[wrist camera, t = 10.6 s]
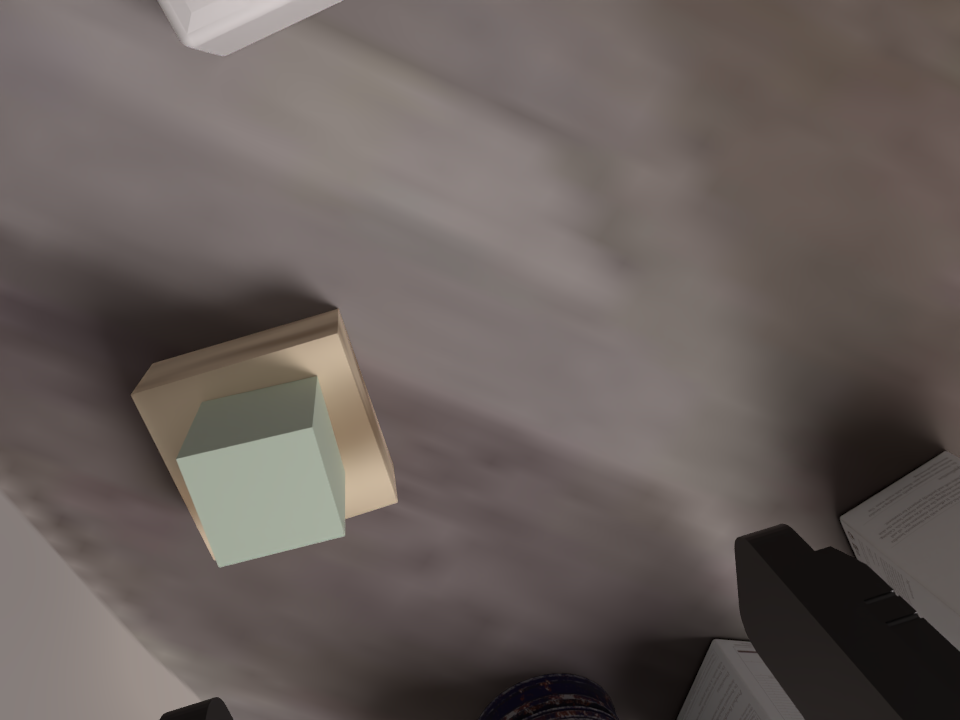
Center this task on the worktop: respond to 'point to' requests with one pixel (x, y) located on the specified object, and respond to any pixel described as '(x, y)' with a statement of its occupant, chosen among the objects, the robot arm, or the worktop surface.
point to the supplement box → (736, 687)
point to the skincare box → (916, 540)
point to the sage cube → (265, 471)
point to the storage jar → (552, 700)
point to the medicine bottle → (234, 20)
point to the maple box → (264, 363)
